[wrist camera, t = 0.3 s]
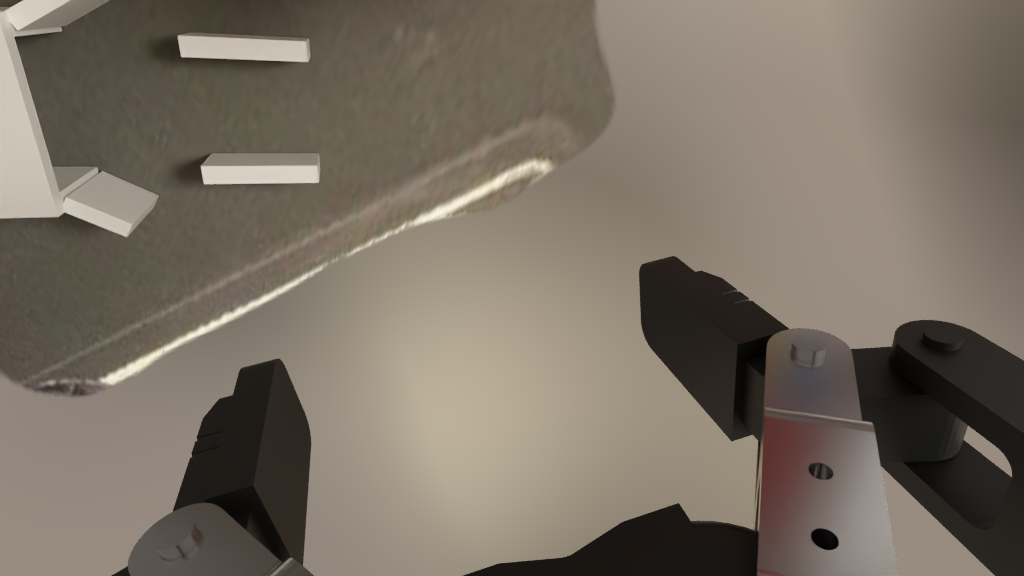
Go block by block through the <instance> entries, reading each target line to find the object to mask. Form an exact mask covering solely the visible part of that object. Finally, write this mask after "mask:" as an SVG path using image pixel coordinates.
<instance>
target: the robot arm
mask: <svg viewBox="0 0 1024 576" xmlns="http://www.w3.org/2000/svg"><path fill="white" fill-rule="evenodd" d="M639 282H640V303H641V304H640V307H641V325H642V330H643V333H644V336H645V339H646V341H647V343H648V345H649V346H650V348H651V349H652V350H653V351H654V352H655V353H656V355H657V356H658V357H659V358H660V359H661V360H662V362H663V363H664V364H665V365H666V366H667V367H668V368H669V370H670V371H671V372H672V373H673V374H674V375H675V377H676V378H677V379H678V380H679V381H680V382H681V383H682V385H683V386H684V387H685V388H686V389H687V390H688V392H689V393H690V394H691V395H692V396H693V397H694V398H695V400H696V401H697V402H698V403H699V404H700V405H701V407H702V408H703V409H704V410H705V411H706V412H707V413H708V415H709V416H710V417H711V418H712V419H713V420H714V422H715V423H716V424H717V425H718V426H719V427H720V428H721V430H722V431H723V432H724V433H725V434H726V435H727V436H728V438H729V439H730V440H731V441H734V440H737V439H740V438H743V437H747V436H750V435H754V436H755V438H756V439H757V440H758V449H757V465H756V481H755V498H754V516H753V530H751V529H749V528H746V527H742V526H738V525H733V524H729V523H722V522H714V521H690V520H689V518H688V517H687V515H686V513H685V512H684V510H683V509H682V507H681V506H680V504H679V503H678V504H675V505H672V506H669V507H666V508H663V509H660V510H657V511H654V512H651V513H648V514H645V515H642V516H639V517H636V518H633V519H630V520H627V521H624V522H622V523H620V524H619V525H617V526H616V527H614V528H612V529H611V530H609V531H608V532H606V533H605V534H603V535H602V536H600V537H598V538H597V539H595V540H594V541H592V542H591V543H589V544H588V545H586V546H584V547H583V548H581V549H580V550H578V551H577V552H575V553H574V554H572V555H570V556H567V557H563V558H555V559H545V560H534V561H522V562H511V563H500V564H496V565H493V566H490V567H487V568H484V569H482V570H478V571H475V572H473V573H470V574H467V575H464V576H899V573H898V566H897V560H896V554H895V548H894V542H893V536H892V531H891V524H890V518H889V512H888V507H887V501H886V495H885V489H884V483H883V477H882V471H881V466H882V467H883V468H884V469H885V470H886V471H887V472H888V473H889V474H890V475H891V476H892V477H893V478H894V479H895V480H896V481H897V482H898V483H899V484H901V485H902V486H903V487H904V488H905V489H906V490H907V491H908V492H909V493H910V494H911V495H912V496H913V497H914V498H915V499H916V500H917V501H918V502H919V503H920V504H921V505H922V506H923V507H924V508H925V509H927V511H929V512H930V513H931V514H932V515H933V516H934V517H935V518H936V519H937V520H938V521H939V522H940V523H941V524H942V525H943V526H944V527H945V528H946V529H947V530H948V531H949V532H950V533H951V534H952V535H953V536H954V537H956V538H957V539H958V540H959V541H960V542H961V543H962V544H963V545H964V546H965V547H966V548H967V549H968V550H969V551H970V552H971V553H972V554H973V555H974V556H976V558H977V559H978V560H979V561H980V562H981V563H983V564H984V565H985V566H986V567H987V568H988V569H989V570H990V571H991V572H992V573H993V574H994V575H995V576H1024V361H1023V360H1022V359H1020V358H1018V357H1016V356H1015V355H1013V354H1011V353H1010V352H1008V351H1006V350H1005V349H1003V348H1001V347H1000V346H998V345H996V344H994V343H993V342H991V341H989V340H988V339H986V338H984V337H982V336H981V335H979V334H977V333H976V332H973V331H972V330H970V329H967V328H965V327H962V326H959V325H956V324H952V323H948V322H942V321H935V320H919V321H912V322H908V323H905V324H903V325H901V326H900V327H899V328H897V330H896V331H895V335H894V339H893V344H892V347H880V348H864V349H850V348H849V346H848V345H847V344H846V343H845V342H843V341H842V340H841V339H839V338H837V337H836V336H834V335H831V334H829V333H826V332H823V331H819V330H814V329H801V328H798V329H789V328H788V327H786V326H785V325H783V324H782V323H781V322H779V321H778V320H777V319H776V318H774V317H773V316H771V315H770V314H769V313H768V312H766V311H765V310H764V309H762V308H761V307H760V306H758V305H757V304H755V303H754V302H753V301H749V298H748V297H746V296H745V295H744V294H742V293H741V292H737V289H736V288H734V287H733V286H732V285H730V284H729V283H728V282H726V281H725V280H724V279H722V278H720V277H717V276H715V275H712V274H709V273H706V272H703V271H698V272H695V271H693V270H692V269H690V267H688V266H687V265H686V264H685V263H683V262H682V261H681V260H680V259H678V258H677V257H675V256H671V257H668V258H664V259H660V260H656V261H652V262H648V263H645V264H642V266H641V267H640V271H639ZM967 426H970V427H971V428H972V429H974V430H975V431H976V432H978V433H979V434H980V435H982V436H983V437H984V438H986V439H987V440H988V441H990V442H991V443H992V444H994V445H995V446H996V447H997V448H999V449H1000V450H1001V452H1002V453H1004V455H1005V456H1006V458H1007V459H1008V461H1009V463H1010V466H1011V468H1012V477H1010V476H1009V475H1008V474H1006V473H1005V472H1004V471H1003V470H1001V469H1000V468H999V467H998V466H996V465H995V464H994V463H992V462H991V461H990V460H988V459H987V458H986V457H985V456H983V455H982V454H981V453H980V452H978V451H977V450H976V449H974V448H973V447H972V446H971V445H969V444H968V443H967V442H965V441H964V440H963V438H964V436H965V433H966V429H967ZM310 452H311V436H310V429H309V424H308V421H307V418H306V415H305V412H304V410H303V408H302V405H301V403H300V400H299V398H298V396H297V394H296V391H295V389H294V386H293V384H292V382H291V379H290V377H289V375H288V372H287V370H286V368H285V365H284V364H283V362H282V361H281V360H280V359H274V360H271V361H267V362H263V363H259V364H256V365H252V366H248V367H244V368H241V369H240V371H239V374H238V378H237V382H236V386H235V389H234V393H233V395H232V396H229V397H224V398H221V399H219V400H218V401H217V402H216V403H215V405H214V406H213V407H212V408H211V410H210V411H209V412H208V413H207V414H206V415H205V417H204V418H203V420H202V423H201V426H200V430H199V432H198V435H197V442H195V445H194V448H193V451H192V458H190V460H189V463H188V466H187V469H186V472H185V475H184V478H183V482H182V485H181V488H180V491H179V494H178V497H177V500H176V503H175V506H174V509H173V512H172V513H170V514H168V515H166V516H165V517H164V518H162V519H161V520H159V521H158V522H156V523H155V524H154V525H153V526H152V527H150V528H149V529H148V530H147V531H146V532H145V533H144V534H143V536H142V537H141V538H140V539H139V540H138V542H137V543H136V545H135V546H134V548H133V550H132V552H131V554H130V557H129V560H128V566H127V567H126V568H124V569H123V570H121V571H119V572H117V573H116V574H114V575H112V576H313V575H312V574H311V573H310V572H309V571H308V570H307V569H305V568H304V567H303V556H304V542H305V541H304V540H305V527H306V526H305V525H306V512H307V497H308V483H309V468H310V467H309V466H310Z"/></svg>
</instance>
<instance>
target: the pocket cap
mask: <svg viewBox="0 0 1024 576" xmlns="http://www.w3.org/2000/svg"><path fill="white" fill-rule="evenodd" d="M108 1H110V0H23V1H21V2H19V3H17V4H16V5H14V6H12V7H0V218H38V217H59V216H60V215H62V214H63V213H64V212H65V213H67V214H70V215H72V216H75V217H77V218H80V219H82V220H85V221H87V222H90V223H92V224H95V225H97V226H100V227H102V228H105V229H107V230H110V231H113V232H115V233H118V234H120V235H123V236H125V237H127V236H128V235H129V234H130V233H131V232H132V231H133V230H134V229H135V228H136V226H137V225H138V224H139V223H140V222H141V221H142V220H143V219H144V218H145V217H146V215H147V214H148V213H149V212H150V211H151V210H152V209H153V208H154V206H155V204H156V202H157V199H158V197H159V195H156V194H154V193H152V192H149V191H147V190H145V189H143V188H140V187H138V186H136V185H133V184H131V183H129V182H126V181H124V180H122V179H120V178H117V177H115V176H113V175H110V174H108V173H106V172H103V171H102V172H100V173H99V172H98V168H97V167H52V165H51V161H50V158H49V154H48V151H47V147H46V144H45V141H44V137H43V134H42V130H41V127H40V123H39V120H38V117H37V113H36V110H35V106H34V103H33V99H32V96H31V93H30V89H29V86H28V82H27V79H26V75H25V72H24V69H23V65H22V62H21V58H20V55H19V51H18V48H17V45H16V41H15V38H14V37H17V36H25V35H34V34H43V33H52V32H61V31H62V28H61V27H62V26H67V25H68V24H70V23H72V22H74V21H75V20H77V19H79V18H81V17H82V16H84V15H86V14H88V13H89V12H91V11H93V10H95V9H96V8H98V7H100V6H102V5H103V4H105V3H107V2H108Z"/></svg>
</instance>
